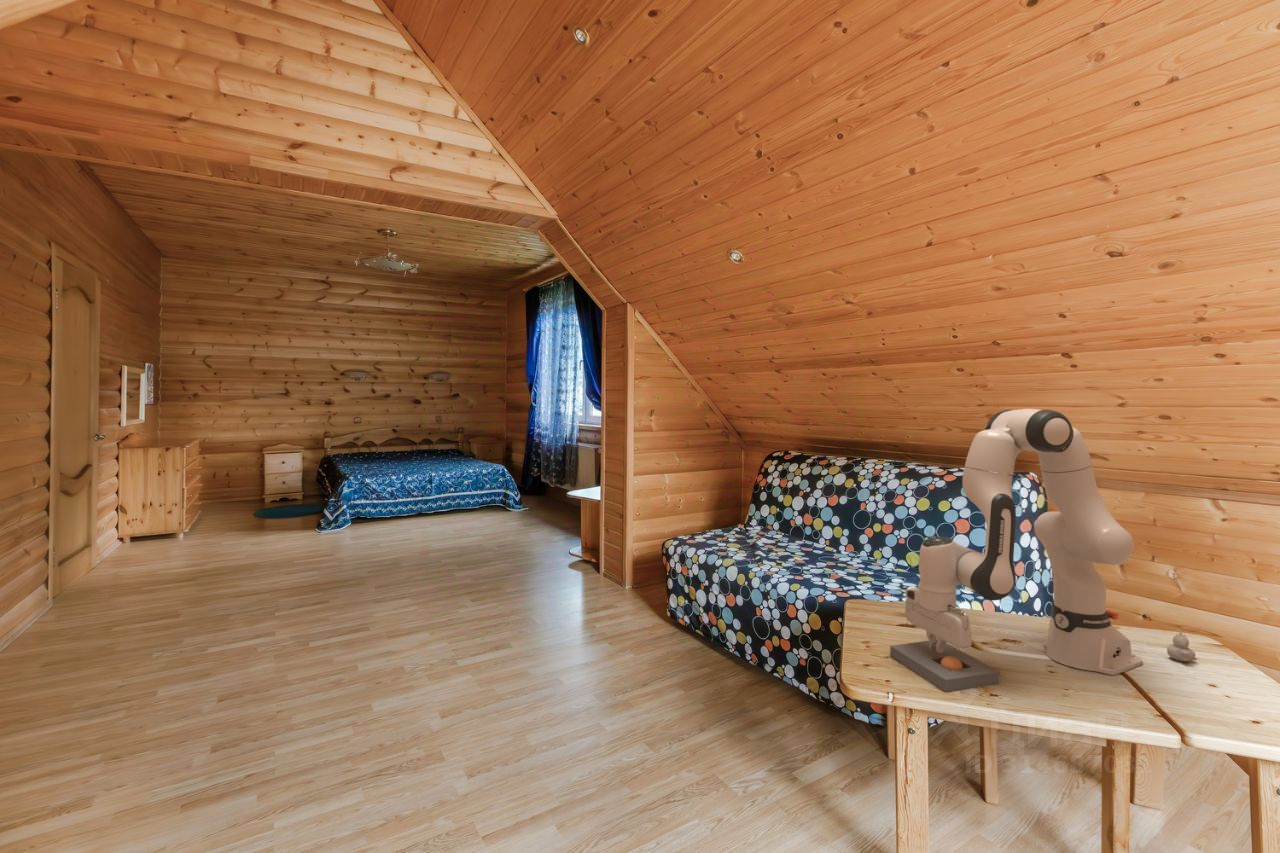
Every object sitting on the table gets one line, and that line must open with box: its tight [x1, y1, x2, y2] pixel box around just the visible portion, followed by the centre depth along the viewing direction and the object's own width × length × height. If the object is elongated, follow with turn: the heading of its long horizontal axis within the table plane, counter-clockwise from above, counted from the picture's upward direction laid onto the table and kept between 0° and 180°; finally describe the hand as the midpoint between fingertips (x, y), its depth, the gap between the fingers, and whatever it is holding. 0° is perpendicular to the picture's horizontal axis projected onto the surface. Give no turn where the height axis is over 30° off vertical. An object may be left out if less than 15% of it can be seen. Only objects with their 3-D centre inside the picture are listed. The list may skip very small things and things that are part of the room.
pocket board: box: [889, 640, 1001, 693], centre depth 150 cm, size 16×20×3 cm
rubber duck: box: [1166, 630, 1196, 663], centre depth 153 cm, size 5×7×8 cm
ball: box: [940, 656, 963, 670], centre depth 146 cm, size 5×5×5 cm
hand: (936, 650), depth 152 cm, fingers closed
